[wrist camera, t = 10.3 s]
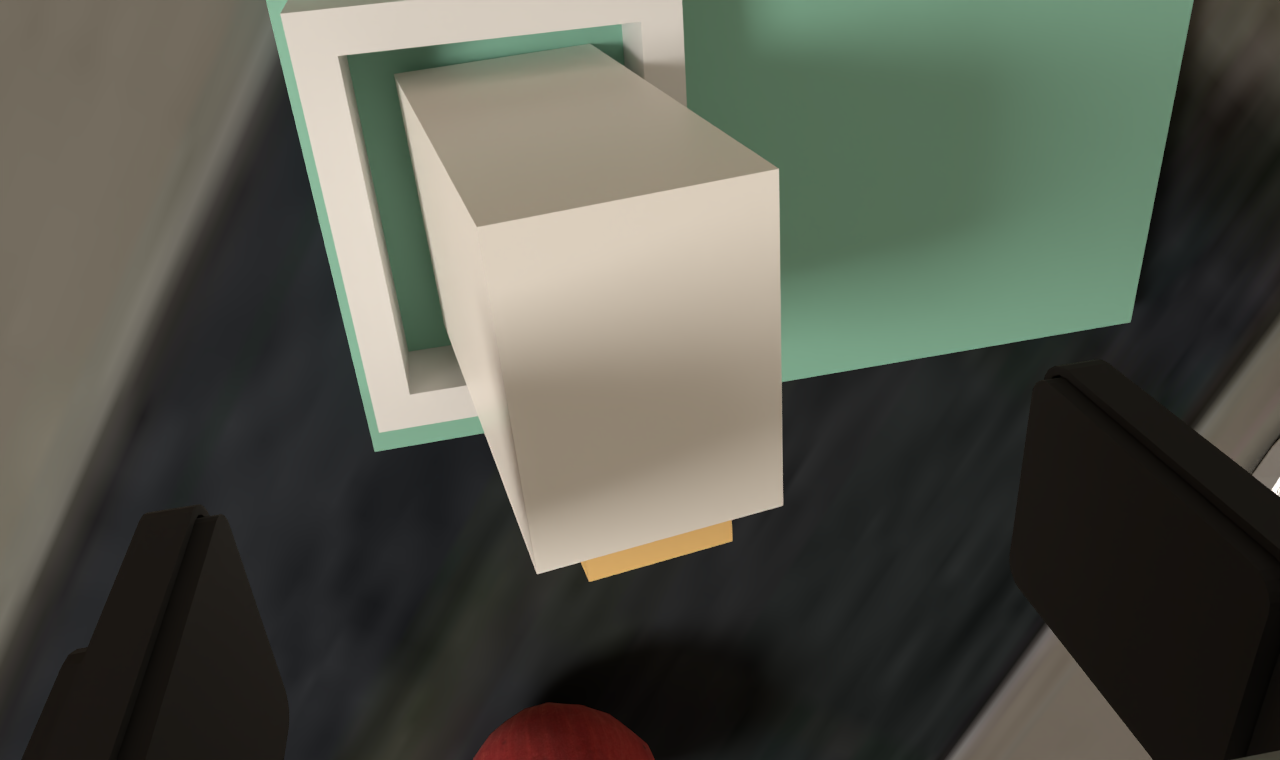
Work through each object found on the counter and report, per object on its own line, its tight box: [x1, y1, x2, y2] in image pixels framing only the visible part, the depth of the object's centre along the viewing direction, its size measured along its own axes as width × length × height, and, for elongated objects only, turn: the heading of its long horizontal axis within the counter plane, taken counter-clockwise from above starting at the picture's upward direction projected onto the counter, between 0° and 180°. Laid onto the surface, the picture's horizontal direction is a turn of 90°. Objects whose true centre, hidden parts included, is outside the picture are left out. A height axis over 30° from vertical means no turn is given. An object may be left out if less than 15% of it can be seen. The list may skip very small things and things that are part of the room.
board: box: [266, 0, 1194, 452], centre depth 22 cm, size 20×12×3 cm, turn 94°
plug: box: [394, 44, 783, 582], centre depth 18 cm, size 4×6×9 cm, turn 5°
